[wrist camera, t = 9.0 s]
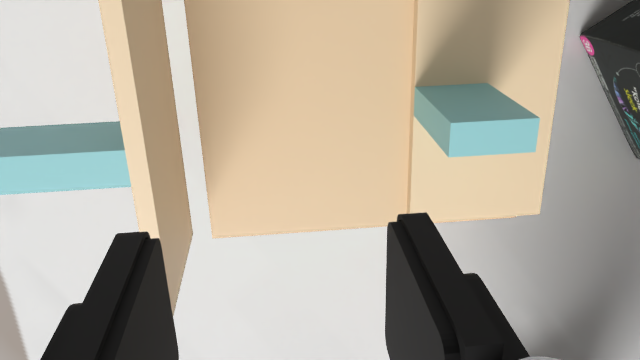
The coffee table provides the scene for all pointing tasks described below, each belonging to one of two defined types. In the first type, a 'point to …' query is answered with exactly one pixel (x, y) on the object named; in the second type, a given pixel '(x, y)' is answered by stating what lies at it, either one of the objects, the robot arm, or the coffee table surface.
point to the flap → (118, 138)
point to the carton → (373, 109)
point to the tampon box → (619, 66)
